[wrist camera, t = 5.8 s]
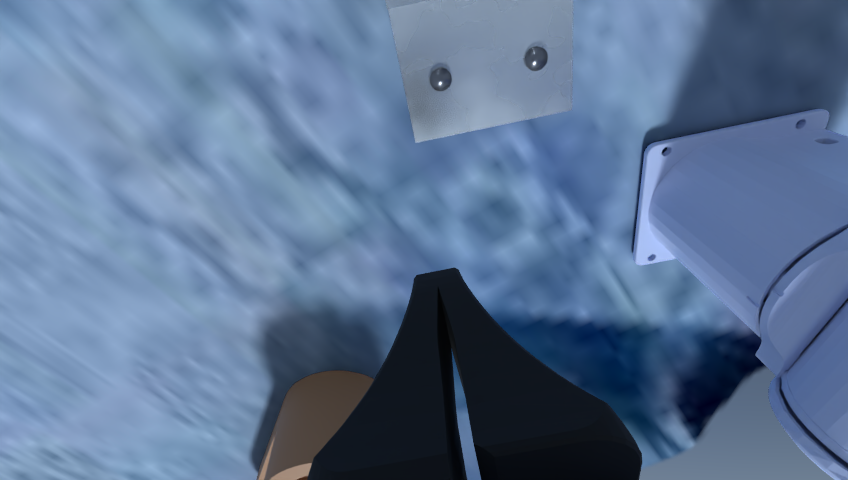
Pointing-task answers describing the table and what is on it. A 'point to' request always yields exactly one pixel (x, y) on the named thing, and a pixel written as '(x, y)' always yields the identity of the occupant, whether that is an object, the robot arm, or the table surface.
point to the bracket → (310, 421)
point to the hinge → (482, 61)
